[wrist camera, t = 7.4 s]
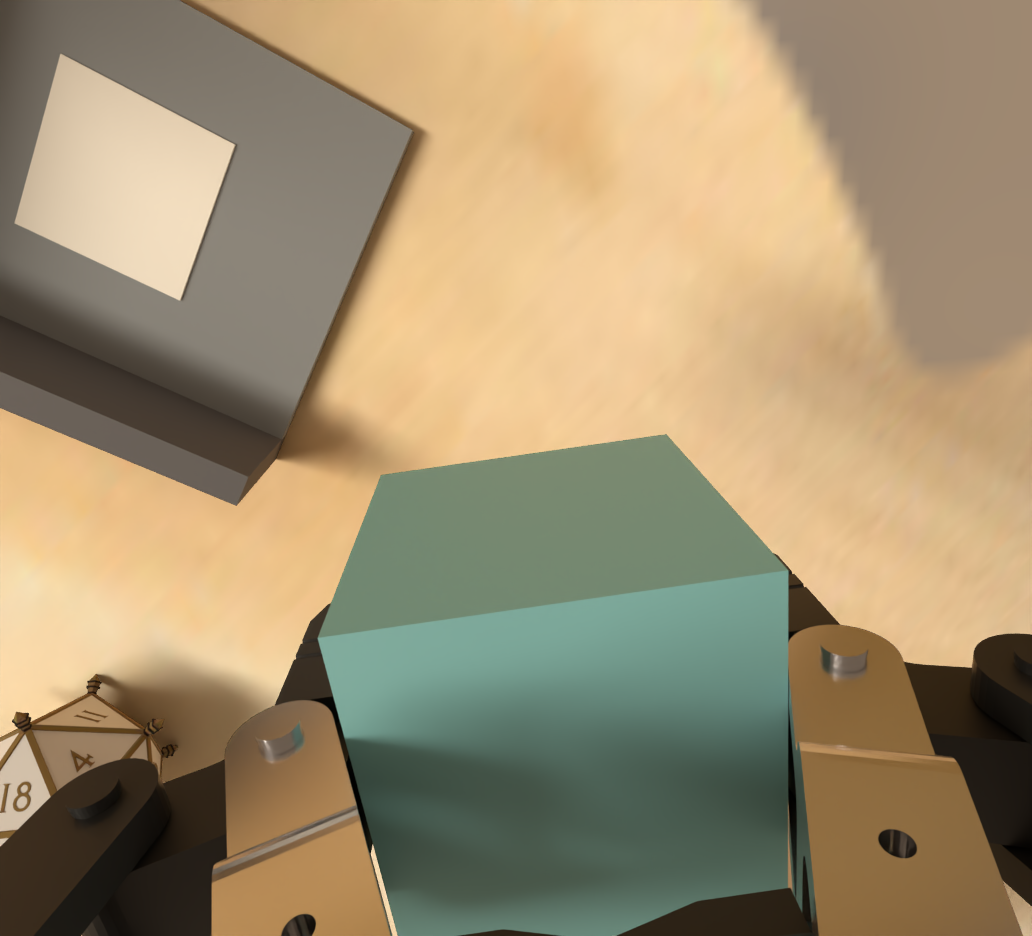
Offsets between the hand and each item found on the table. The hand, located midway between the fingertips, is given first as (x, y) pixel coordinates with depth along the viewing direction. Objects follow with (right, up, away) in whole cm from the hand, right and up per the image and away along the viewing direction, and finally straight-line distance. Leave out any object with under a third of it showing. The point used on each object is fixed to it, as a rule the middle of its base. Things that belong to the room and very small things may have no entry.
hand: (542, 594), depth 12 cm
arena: (-14, +12, +13) cm, 23 cm away
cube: (0, 0, 0) cm, 0 cm away
